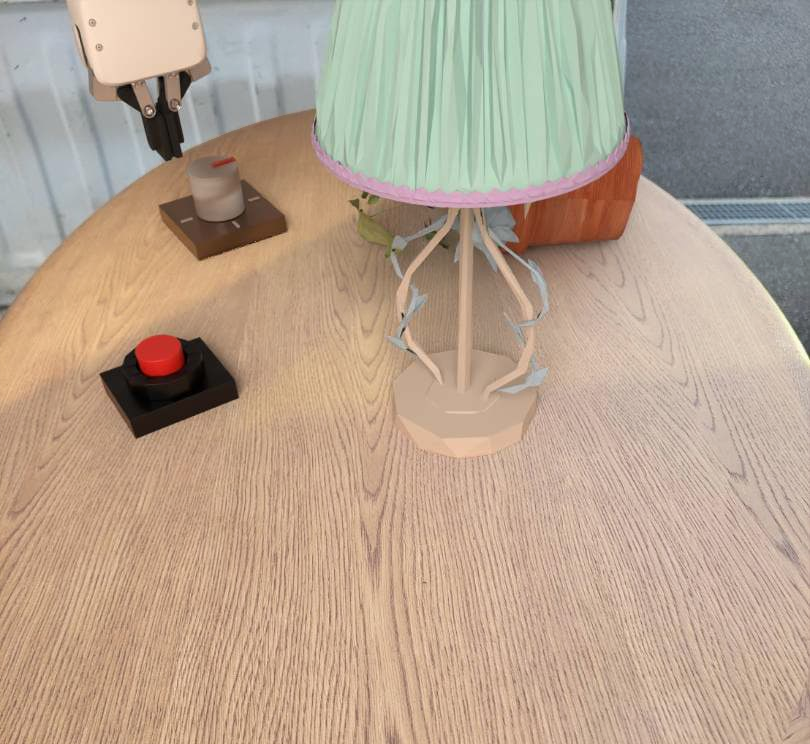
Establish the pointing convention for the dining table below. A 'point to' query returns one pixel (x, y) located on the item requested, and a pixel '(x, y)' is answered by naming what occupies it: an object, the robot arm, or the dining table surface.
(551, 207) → the potted plant
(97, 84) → the robot arm
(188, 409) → the switch block
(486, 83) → the table lamp
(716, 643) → the dining table surface
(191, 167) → the dimmer knob
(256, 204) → the dimmer panel
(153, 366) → the light button
